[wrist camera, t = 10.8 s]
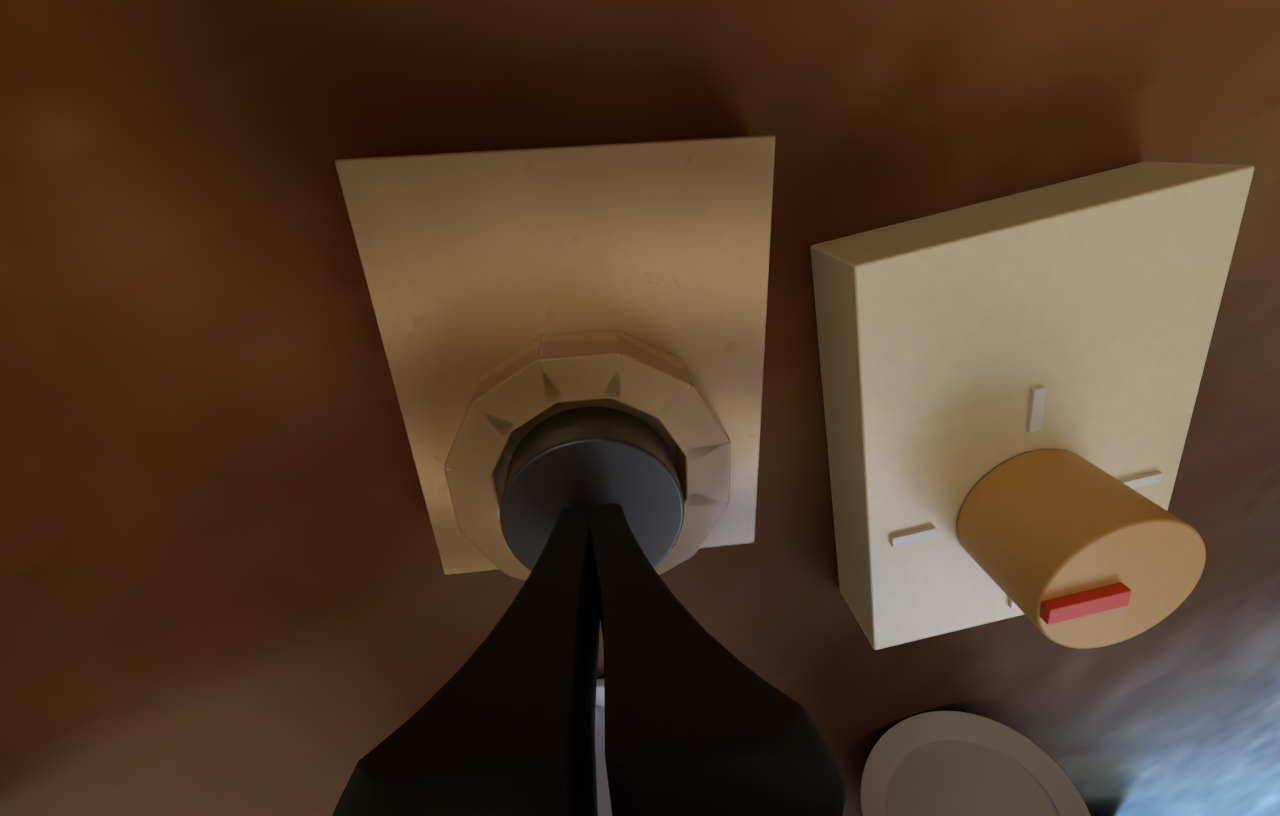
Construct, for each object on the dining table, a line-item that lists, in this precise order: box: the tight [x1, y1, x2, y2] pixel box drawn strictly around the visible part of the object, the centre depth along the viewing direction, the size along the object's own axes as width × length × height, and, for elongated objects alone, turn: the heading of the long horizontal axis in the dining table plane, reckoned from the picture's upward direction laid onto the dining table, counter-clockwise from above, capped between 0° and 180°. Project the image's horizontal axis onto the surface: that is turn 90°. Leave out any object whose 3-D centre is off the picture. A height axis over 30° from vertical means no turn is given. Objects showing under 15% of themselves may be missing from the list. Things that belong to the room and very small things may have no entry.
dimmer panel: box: [810, 162, 1254, 650], centre depth 18 cm, size 14×10×3 cm
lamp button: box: [500, 406, 685, 571], centre depth 14 cm, size 4×4×2 cm
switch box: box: [335, 135, 775, 581], centre depth 15 cm, size 12×10×4 cm
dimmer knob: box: [958, 449, 1206, 648], centre depth 16 cm, size 4×4×4 cm
